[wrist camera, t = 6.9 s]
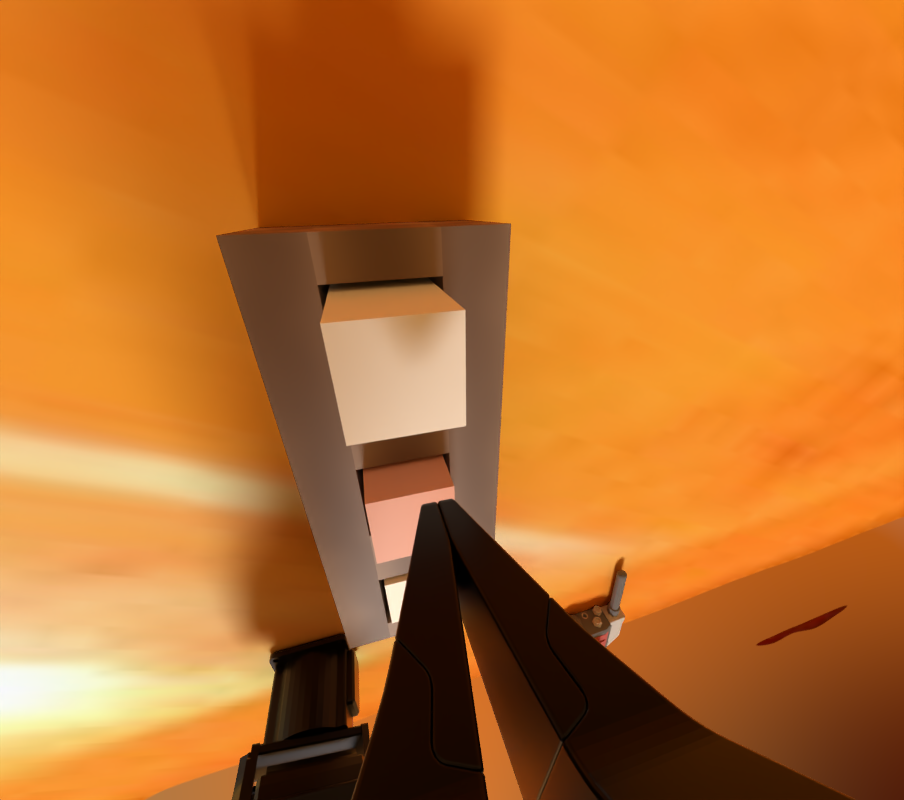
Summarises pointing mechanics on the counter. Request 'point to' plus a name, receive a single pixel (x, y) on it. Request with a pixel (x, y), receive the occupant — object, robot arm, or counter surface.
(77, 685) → the counter surface
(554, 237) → the counter surface
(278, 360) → the socket board
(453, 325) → the cream plug
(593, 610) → the walkie-talkie
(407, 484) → the plug terracotta
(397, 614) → the cream plug
